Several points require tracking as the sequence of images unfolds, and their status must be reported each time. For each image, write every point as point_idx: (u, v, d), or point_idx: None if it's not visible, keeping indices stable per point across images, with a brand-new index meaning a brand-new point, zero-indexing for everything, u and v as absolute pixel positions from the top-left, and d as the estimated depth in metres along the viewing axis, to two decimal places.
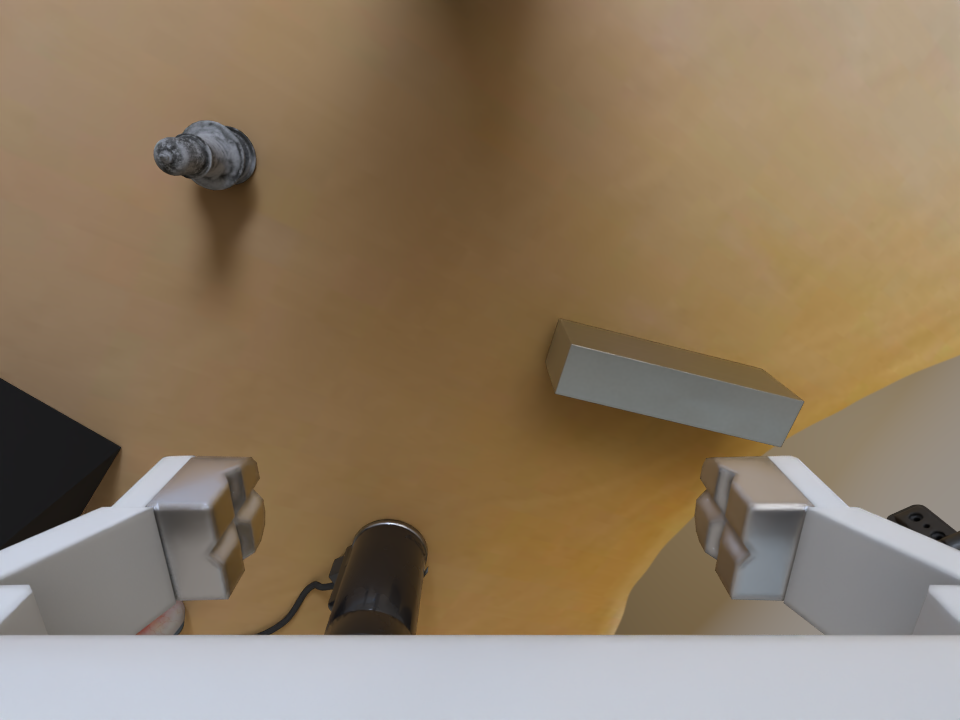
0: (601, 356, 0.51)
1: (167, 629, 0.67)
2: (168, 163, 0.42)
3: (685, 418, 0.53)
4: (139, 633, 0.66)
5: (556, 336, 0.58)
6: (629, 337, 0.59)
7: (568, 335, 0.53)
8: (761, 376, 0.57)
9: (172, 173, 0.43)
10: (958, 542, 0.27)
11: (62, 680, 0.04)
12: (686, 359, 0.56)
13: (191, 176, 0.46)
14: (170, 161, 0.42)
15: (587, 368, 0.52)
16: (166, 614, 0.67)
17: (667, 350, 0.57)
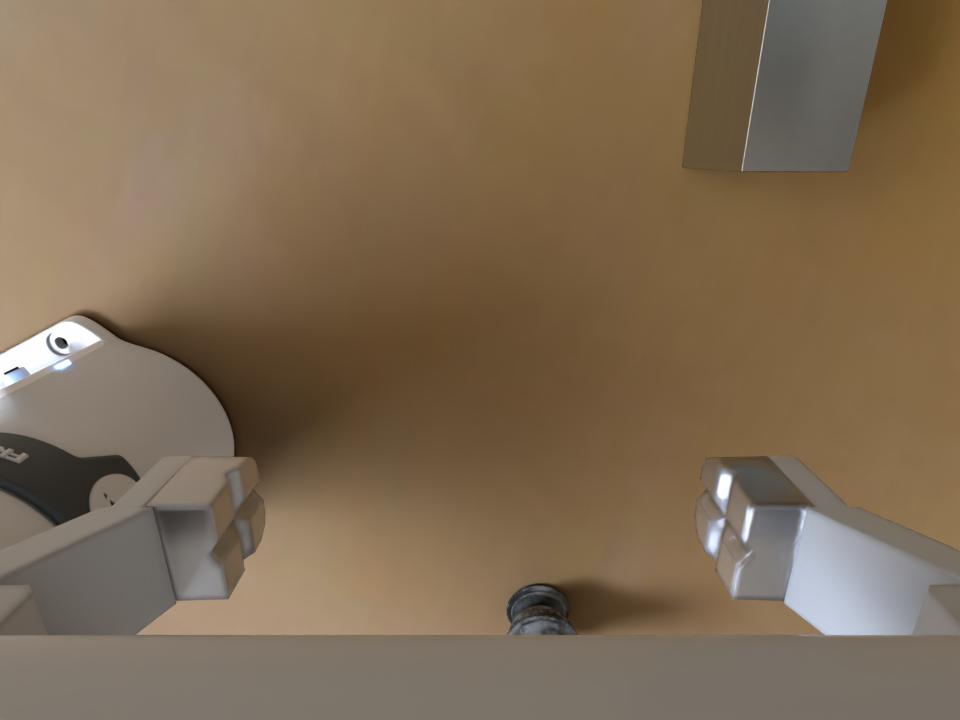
0: (762, 100, 0.25)
1: None
2: None
3: None
4: None
5: None
6: (704, 21, 0.31)
7: (719, 167, 0.29)
8: None
9: None
10: None
11: (60, 680, 0.04)
12: None
13: None
14: None
15: (790, 121, 0.26)
16: None
17: None
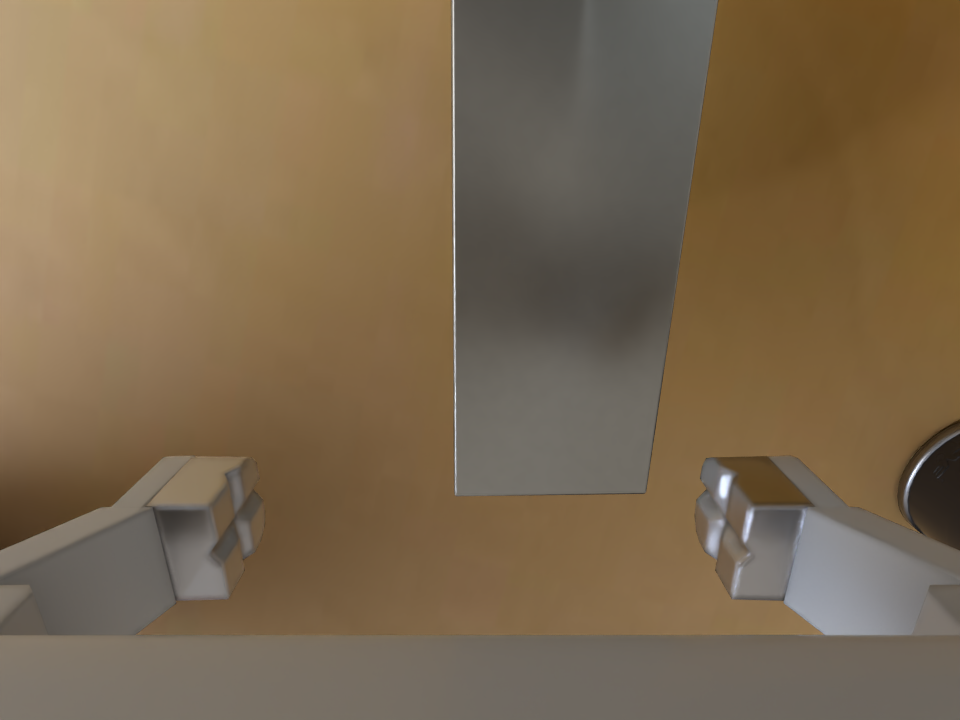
0: (471, 390, 0.14)
1: None
2: None
3: None
4: None
5: None
6: None
7: None
8: None
9: None
10: None
11: (60, 680, 0.04)
12: None
13: None
14: None
15: (528, 422, 0.14)
16: None
17: None
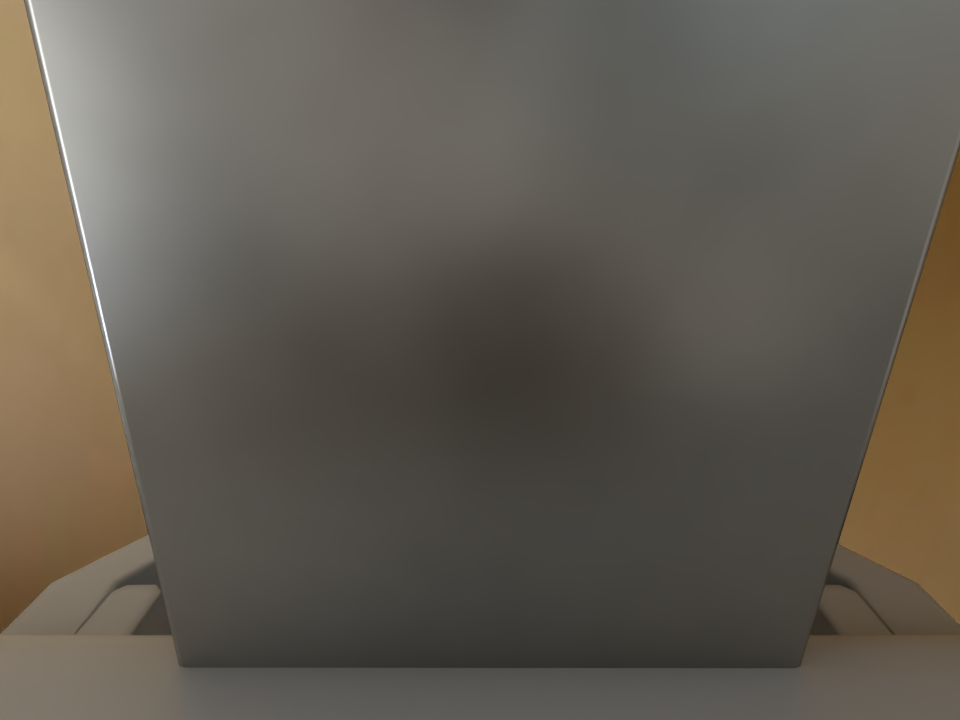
0: None
1: None
2: None
3: None
4: None
5: None
6: None
7: None
8: None
9: None
10: None
11: (61, 680, 0.04)
12: None
13: None
14: None
15: None
16: None
17: None
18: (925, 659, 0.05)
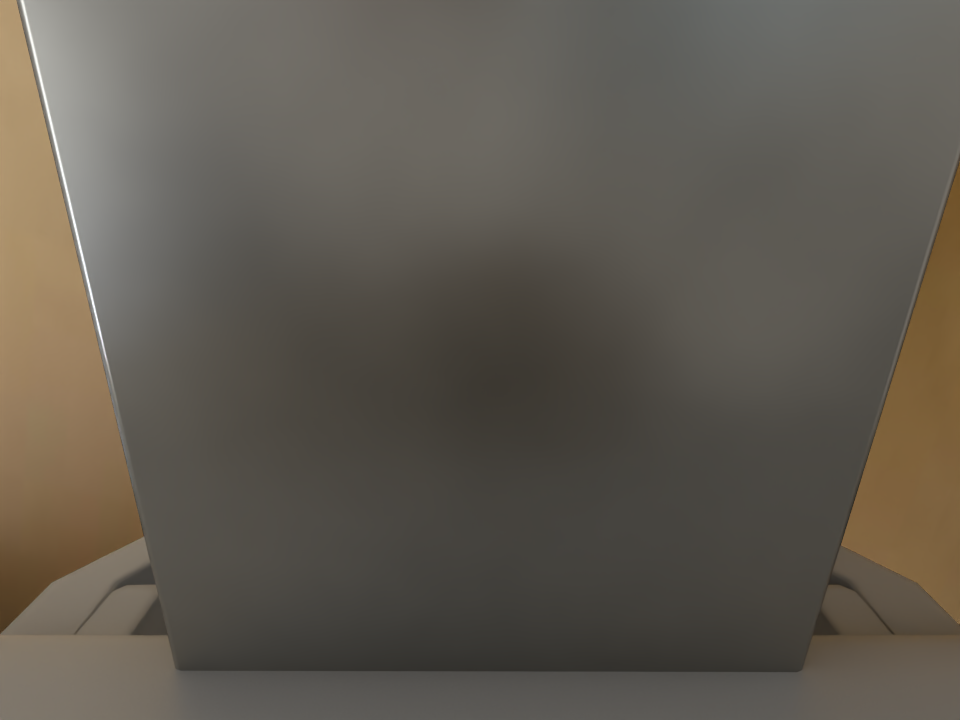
0: None
1: None
2: None
3: None
4: None
5: None
6: None
7: None
8: None
9: None
10: None
11: (62, 680, 0.04)
12: None
13: None
14: None
15: None
16: None
17: None
18: (925, 659, 0.05)
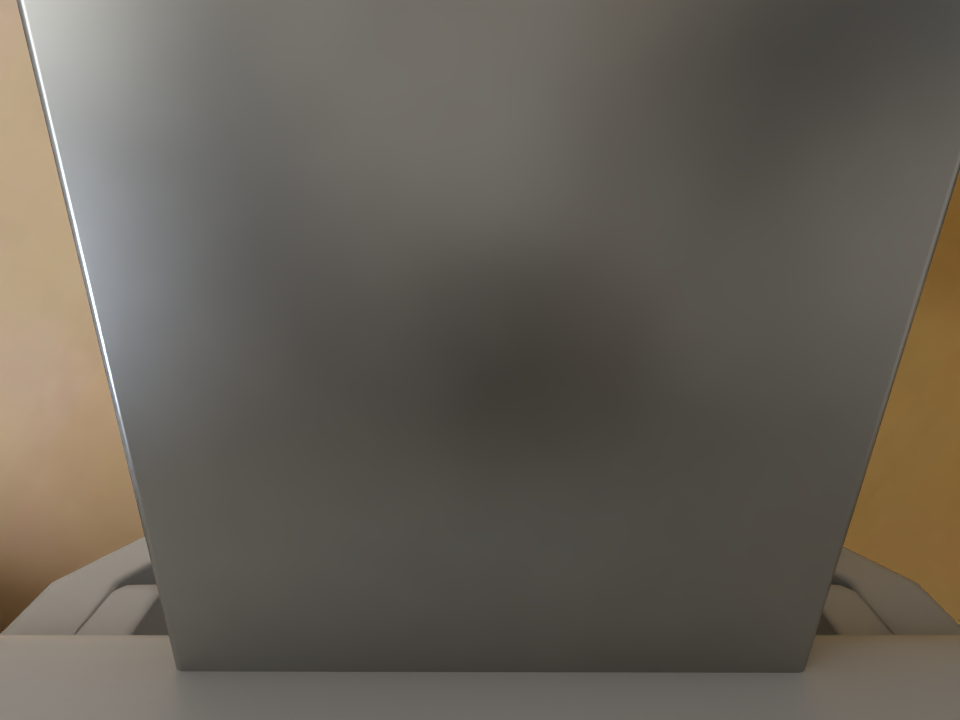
0: None
1: None
2: None
3: None
4: None
5: None
6: None
7: None
8: None
9: None
10: None
11: (61, 678, 0.04)
12: None
13: None
14: None
15: None
16: None
17: None
18: (925, 659, 0.05)
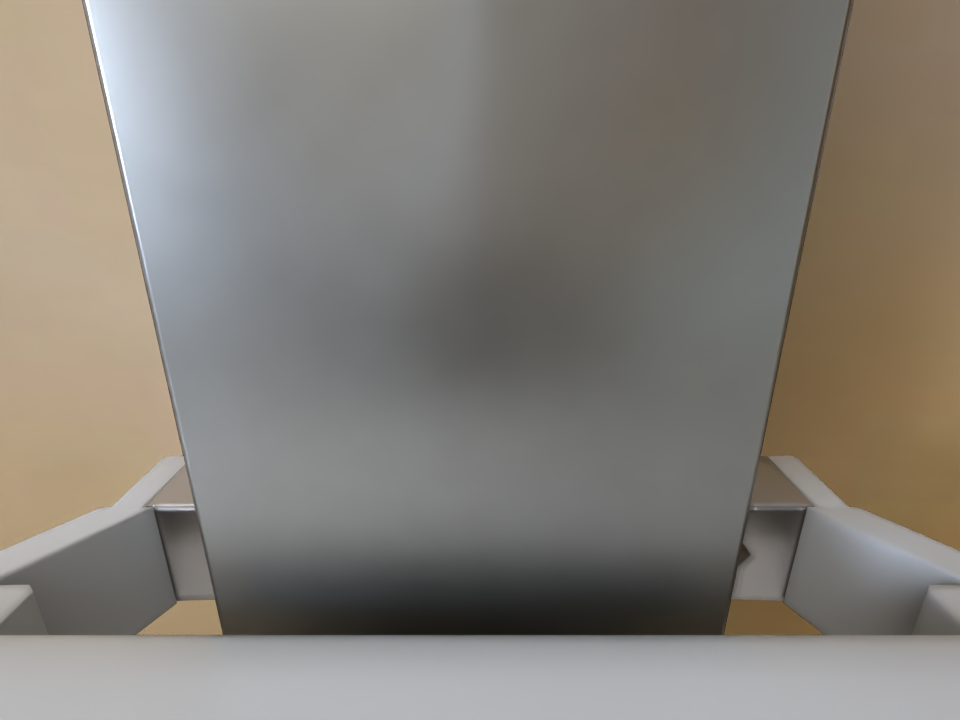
0: None
1: None
2: None
3: None
4: None
5: None
6: None
7: None
8: None
9: None
10: None
11: (62, 680, 0.04)
12: None
13: None
14: None
15: None
16: None
17: None
18: (925, 659, 0.05)
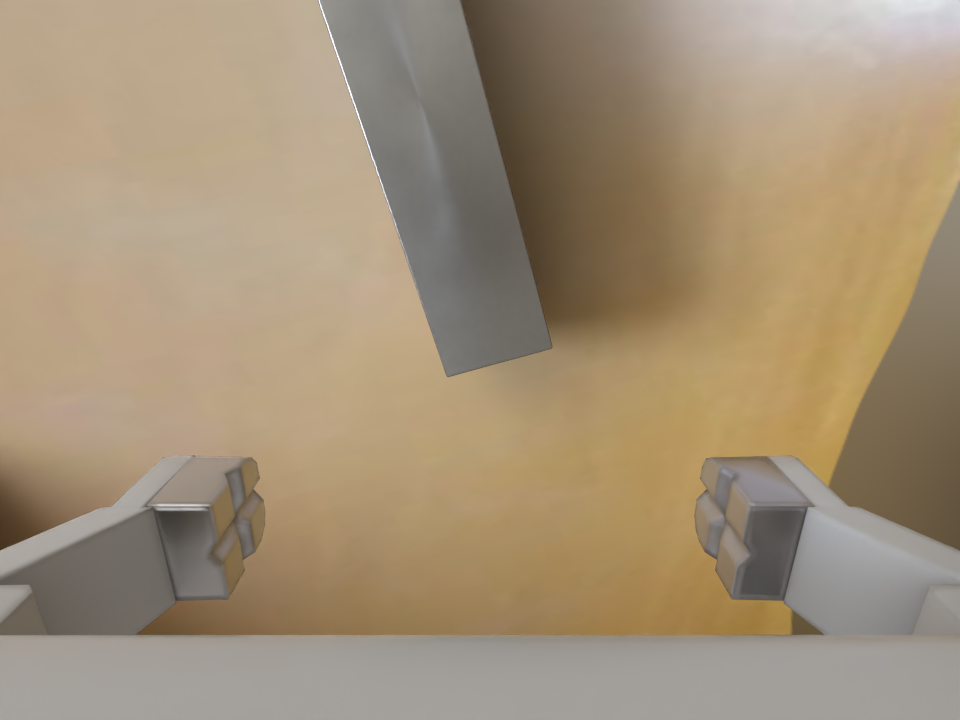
0: (435, 315, 0.25)
1: None
2: None
3: (455, 48, 0.21)
4: None
5: None
6: None
7: None
8: None
9: None
10: None
11: (62, 680, 0.04)
12: None
13: None
14: None
15: (471, 324, 0.25)
16: None
17: None
18: (925, 659, 0.05)
